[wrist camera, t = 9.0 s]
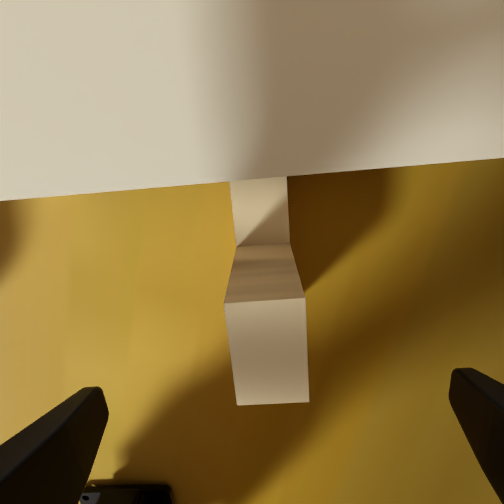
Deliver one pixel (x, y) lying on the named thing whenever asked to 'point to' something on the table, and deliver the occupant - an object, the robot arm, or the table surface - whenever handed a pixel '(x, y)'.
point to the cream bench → (241, 90)
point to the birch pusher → (265, 299)
